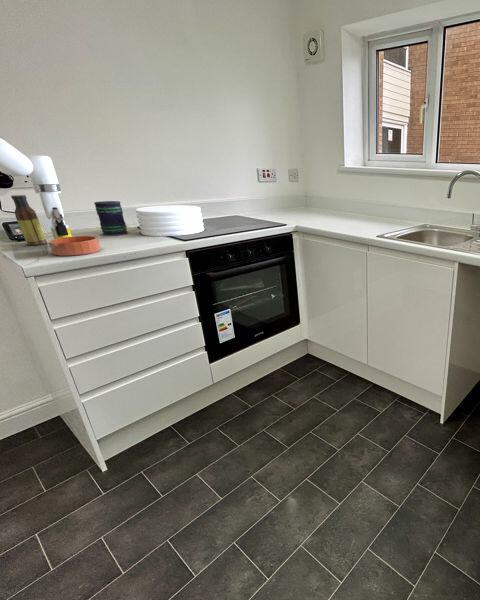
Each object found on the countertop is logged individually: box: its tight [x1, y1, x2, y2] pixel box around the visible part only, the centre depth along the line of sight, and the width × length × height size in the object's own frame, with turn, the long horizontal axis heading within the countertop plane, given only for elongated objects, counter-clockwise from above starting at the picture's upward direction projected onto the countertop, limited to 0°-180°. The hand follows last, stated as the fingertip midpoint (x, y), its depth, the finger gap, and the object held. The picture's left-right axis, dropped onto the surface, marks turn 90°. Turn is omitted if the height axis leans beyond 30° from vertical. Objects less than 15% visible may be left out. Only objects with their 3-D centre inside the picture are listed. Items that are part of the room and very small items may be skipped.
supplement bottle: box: [50, 219, 73, 239], centre depth 144 cm, size 6×6×10 cm
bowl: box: [48, 235, 102, 257], centre depth 136 cm, size 14×14×5 cm
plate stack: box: [135, 204, 205, 237], centre depth 180 cm, size 28×28×12 cm
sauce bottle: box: [10, 194, 48, 246], centre depth 143 cm, size 6×6×20 cm
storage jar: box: [93, 200, 129, 237], centre depth 168 cm, size 10×10×15 cm
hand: (61, 233), depth 144 cm, fingers open, 6 cm apart
